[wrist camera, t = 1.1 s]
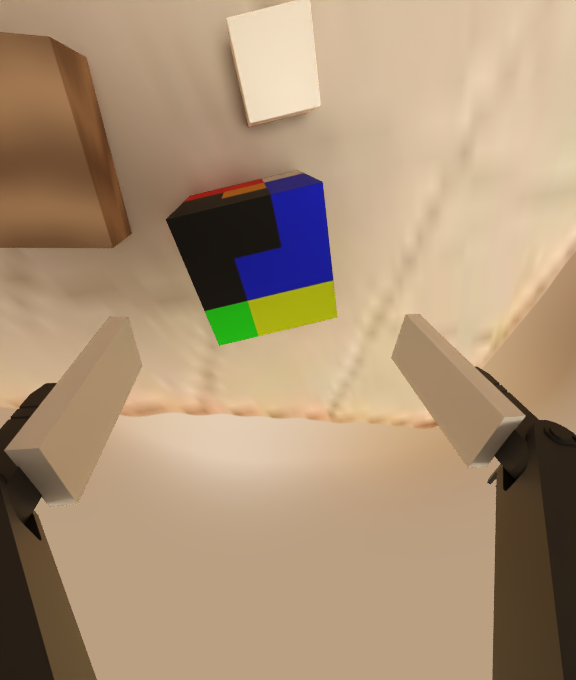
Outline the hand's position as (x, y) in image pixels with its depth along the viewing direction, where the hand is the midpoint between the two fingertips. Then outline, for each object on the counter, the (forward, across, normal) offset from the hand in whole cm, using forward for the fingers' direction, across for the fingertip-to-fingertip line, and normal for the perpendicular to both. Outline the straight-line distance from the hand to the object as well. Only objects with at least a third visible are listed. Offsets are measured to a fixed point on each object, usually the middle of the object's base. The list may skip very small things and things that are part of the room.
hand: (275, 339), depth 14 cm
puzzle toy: (+18, 0, 0) cm, 18 cm away
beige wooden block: (+18, +1, +12) cm, 22 cm away
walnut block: (+18, -18, +6) cm, 27 cm away
